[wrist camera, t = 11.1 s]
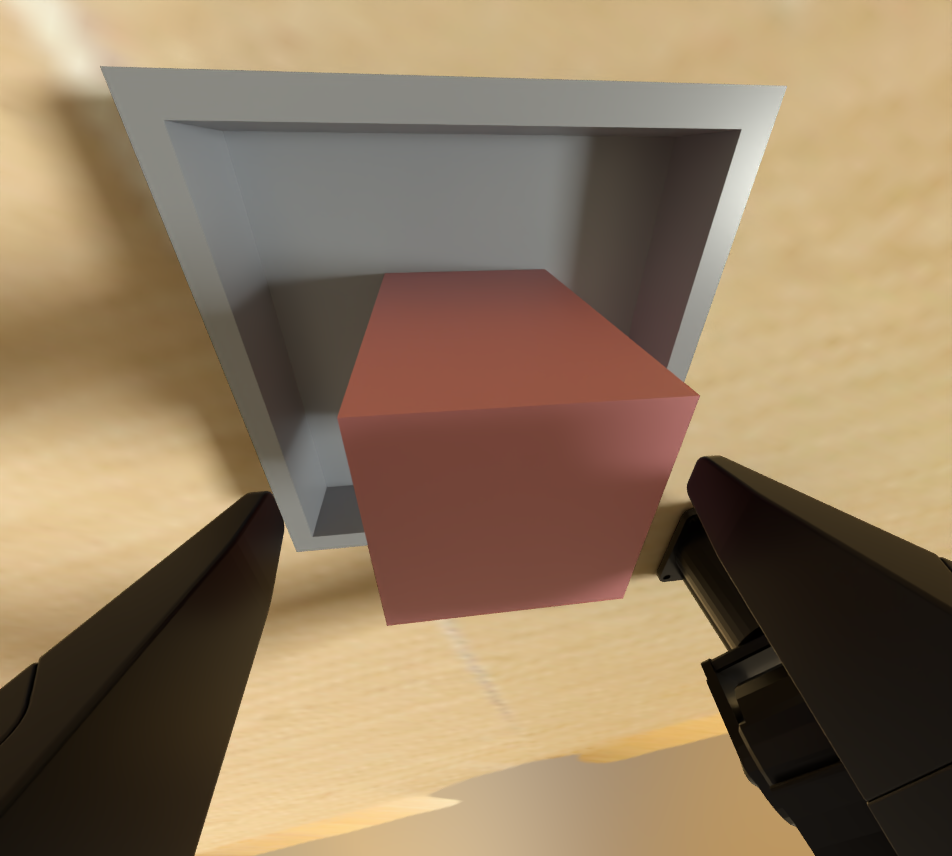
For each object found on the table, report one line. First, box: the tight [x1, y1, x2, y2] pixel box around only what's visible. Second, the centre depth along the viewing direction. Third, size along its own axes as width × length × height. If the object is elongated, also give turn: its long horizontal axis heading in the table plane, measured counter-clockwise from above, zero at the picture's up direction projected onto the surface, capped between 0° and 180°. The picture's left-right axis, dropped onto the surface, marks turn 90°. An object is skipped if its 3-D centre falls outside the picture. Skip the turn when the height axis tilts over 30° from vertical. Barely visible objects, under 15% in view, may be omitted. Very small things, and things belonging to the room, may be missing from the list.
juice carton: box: [337, 269, 700, 626], centre depth 11 cm, size 6×6×9 cm
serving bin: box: [100, 66, 787, 552], centre depth 14 cm, size 15×15×4 cm
